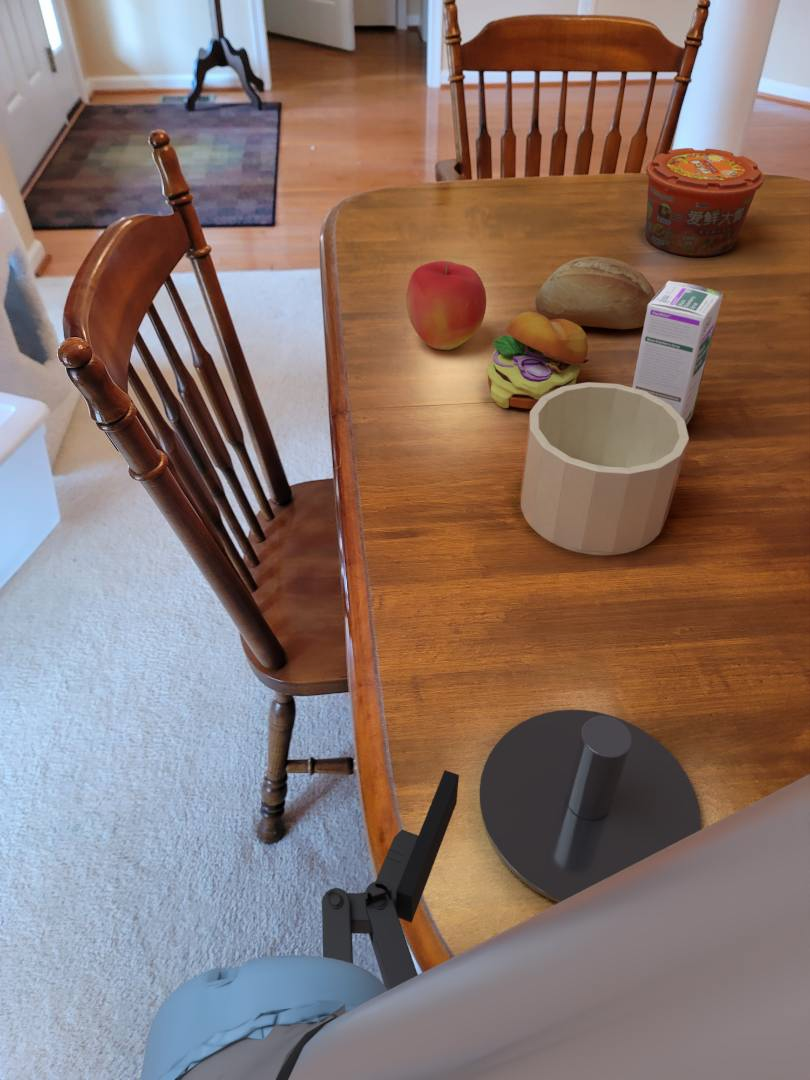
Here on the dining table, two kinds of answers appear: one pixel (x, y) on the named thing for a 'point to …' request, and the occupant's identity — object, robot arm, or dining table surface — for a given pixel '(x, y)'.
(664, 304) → the syrup box
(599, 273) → the bread roll
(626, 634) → the dining table surface
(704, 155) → the food container
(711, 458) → the dining table surface
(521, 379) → the cheeseburger
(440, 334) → the apple
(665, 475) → the pot
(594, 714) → the lid
